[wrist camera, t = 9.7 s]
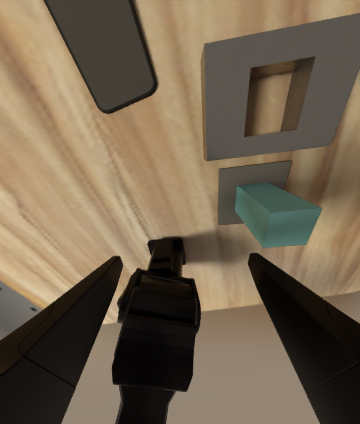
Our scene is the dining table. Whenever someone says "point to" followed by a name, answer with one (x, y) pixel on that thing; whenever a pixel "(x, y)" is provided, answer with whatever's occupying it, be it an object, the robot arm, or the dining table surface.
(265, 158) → the dining table surface
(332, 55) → the gray rectangular frame
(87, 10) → the smartphone
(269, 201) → the teal square block
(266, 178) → the dark gray square pad
